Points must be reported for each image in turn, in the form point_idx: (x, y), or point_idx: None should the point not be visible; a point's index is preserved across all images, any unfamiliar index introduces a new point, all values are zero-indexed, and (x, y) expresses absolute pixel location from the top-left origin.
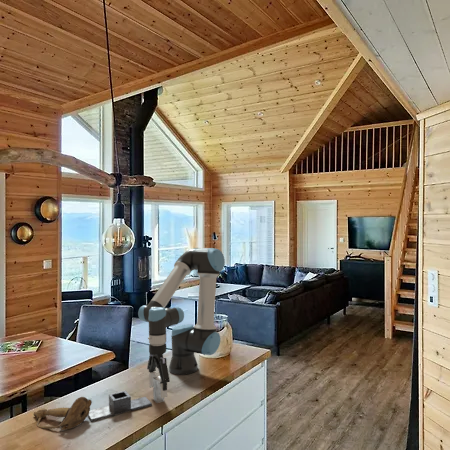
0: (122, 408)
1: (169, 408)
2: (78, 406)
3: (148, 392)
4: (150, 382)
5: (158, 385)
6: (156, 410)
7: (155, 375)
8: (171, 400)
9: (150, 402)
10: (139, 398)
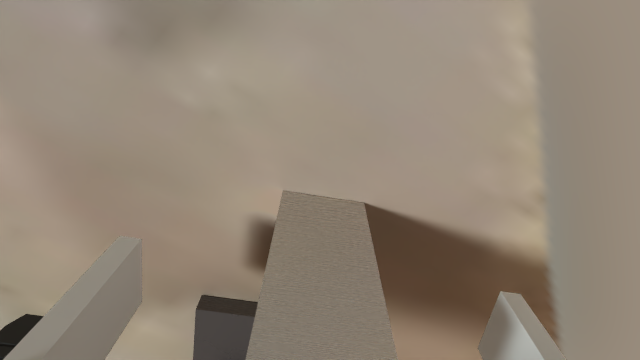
0: None
1: (524, 244)
2: None
3: (75, 213)
4: (111, 342)
5: None
6: (462, 328)
7: (53, 350)
8: (404, 144)
9: None
10: (201, 356)
